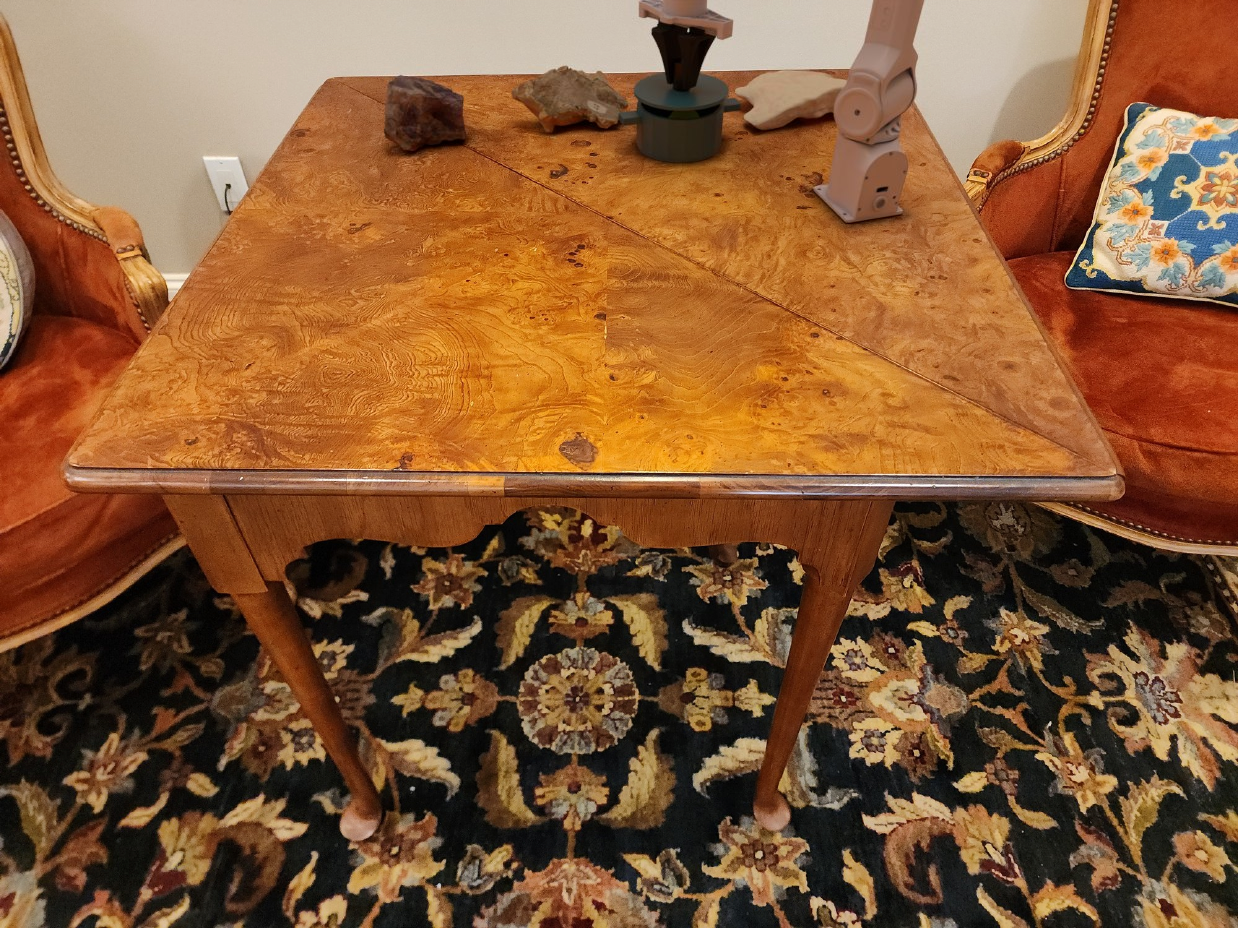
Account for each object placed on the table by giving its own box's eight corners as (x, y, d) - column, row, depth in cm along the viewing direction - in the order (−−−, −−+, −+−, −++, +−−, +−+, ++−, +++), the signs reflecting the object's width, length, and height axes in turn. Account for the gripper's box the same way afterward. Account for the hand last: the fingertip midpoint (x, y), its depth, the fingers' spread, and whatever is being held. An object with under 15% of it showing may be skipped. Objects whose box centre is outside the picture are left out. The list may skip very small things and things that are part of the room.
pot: (750, 153, 109) (755, 111, 104) (633, 170, 105) (633, 127, 101) (719, 121, 117) (722, 80, 112) (609, 135, 113) (608, 94, 109)
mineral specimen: (558, 175, 119) (636, 122, 120) (558, 158, 112) (641, 102, 113) (510, 103, 118) (590, 51, 119) (507, 82, 111) (592, 27, 112)
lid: (742, 108, 103) (746, 72, 100) (650, 120, 100) (651, 83, 97) (708, 75, 112) (710, 40, 108) (622, 85, 109) (622, 50, 106)
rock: (468, 157, 112) (459, 128, 118) (469, 97, 106) (459, 70, 112) (386, 155, 108) (381, 126, 115) (381, 93, 102) (377, 65, 109)
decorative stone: (840, 55, 124) (888, 82, 113) (835, 88, 127) (881, 117, 116) (717, 70, 120) (754, 99, 109) (715, 104, 123) (751, 135, 113)
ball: (699, 153, 110) (710, 123, 106) (667, 152, 109) (678, 122, 104) (689, 130, 112) (700, 100, 108) (658, 129, 111) (668, 98, 107)
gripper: (622, -33, 97) (623, 80, 107) (711, -12, 90) (703, 106, 99) (659, -44, 100) (657, 66, 110) (747, -24, 93) (736, 91, 103)
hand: (681, 85), depth 105 cm, fingers closed on lid, 2 cm apart
